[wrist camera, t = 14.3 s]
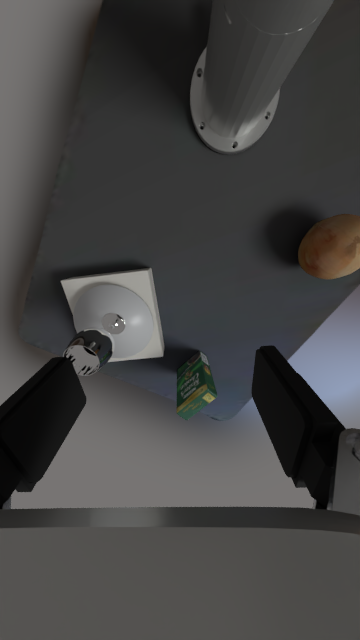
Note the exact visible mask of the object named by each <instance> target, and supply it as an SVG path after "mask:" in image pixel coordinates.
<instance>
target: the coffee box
mask: <svg viewBox="0 0 360 640" xmlns="http://www.w3.org/2000/svg"><path fill="white" fill-rule="evenodd" d="M216 397H217V392H216V389H215V385H214V381H213V377H212V374H211V370H210V366H209V362H208V358H207V356H206V355H205V354H203V353H202V352H201V351H198V352H197V353H196V354H195V355H194V356H193V357H191V358H190V359H189V360H188V361H187V362H185V363H184V364H183V365H182V366H181V367H180V368H178V369H177V414H178V415H179V416H181V417H182V418H184V419H185V420H188V419H189V418H190V417H192V416H193V415H194V414H196V413H197V412H198V411H200V410H201V409H202V408H203V407H205V406H206V405H207V404H209V403H210V402H211V401H213V400H214V399H215V398H216Z"/></svg>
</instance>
